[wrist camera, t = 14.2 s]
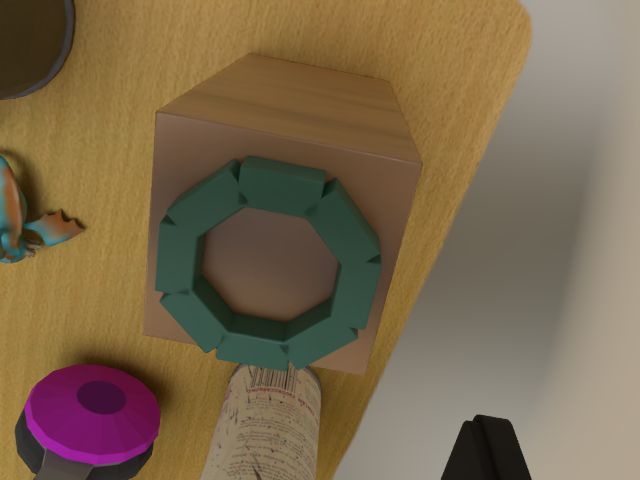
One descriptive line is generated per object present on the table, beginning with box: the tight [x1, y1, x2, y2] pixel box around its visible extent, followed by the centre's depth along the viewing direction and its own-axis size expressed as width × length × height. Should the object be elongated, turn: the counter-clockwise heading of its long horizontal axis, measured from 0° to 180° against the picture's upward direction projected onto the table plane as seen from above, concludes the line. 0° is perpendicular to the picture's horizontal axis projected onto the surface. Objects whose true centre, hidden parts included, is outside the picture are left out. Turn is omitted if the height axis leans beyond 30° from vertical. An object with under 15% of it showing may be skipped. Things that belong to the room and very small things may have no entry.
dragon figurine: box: [0, 155, 85, 263], centre depth 33 cm, size 7×7×8 cm
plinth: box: [143, 53, 423, 375], centre depth 25 cm, size 8×8×16 cm
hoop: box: [155, 155, 382, 372], centre depth 17 cm, size 7×7×1 cm
